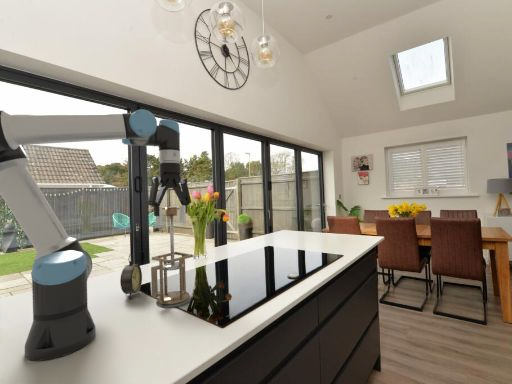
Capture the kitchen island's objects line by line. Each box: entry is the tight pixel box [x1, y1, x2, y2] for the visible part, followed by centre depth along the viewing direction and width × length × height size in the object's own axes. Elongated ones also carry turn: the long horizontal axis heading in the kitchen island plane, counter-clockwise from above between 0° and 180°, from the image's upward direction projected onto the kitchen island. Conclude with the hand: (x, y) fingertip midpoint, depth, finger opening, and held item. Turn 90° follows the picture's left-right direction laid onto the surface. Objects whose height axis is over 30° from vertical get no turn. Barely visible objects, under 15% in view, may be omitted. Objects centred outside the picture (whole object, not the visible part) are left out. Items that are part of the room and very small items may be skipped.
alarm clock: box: [119, 253, 143, 300], centre depth 103 cm, size 11×5×16 cm, turn 5°
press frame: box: [150, 251, 194, 309], centre depth 96 cm, size 14×12×16 cm
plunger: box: [163, 206, 184, 271], centre depth 97 cm, size 8×8×22 cm
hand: (171, 223), depth 97 cm, fingers open, 9 cm apart
